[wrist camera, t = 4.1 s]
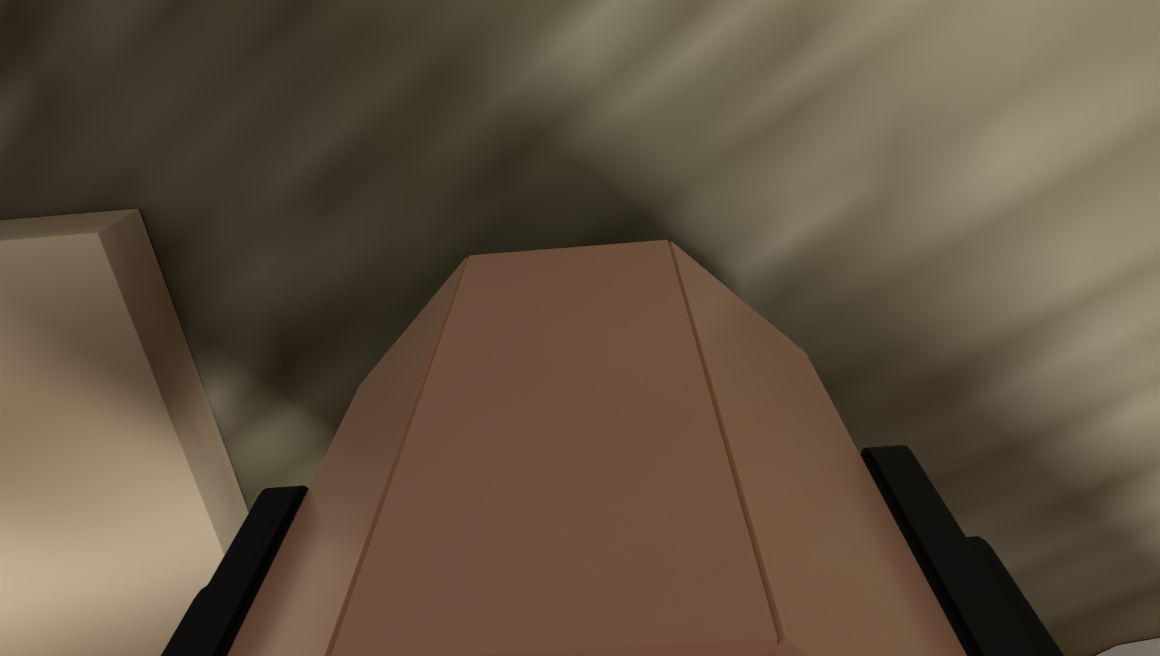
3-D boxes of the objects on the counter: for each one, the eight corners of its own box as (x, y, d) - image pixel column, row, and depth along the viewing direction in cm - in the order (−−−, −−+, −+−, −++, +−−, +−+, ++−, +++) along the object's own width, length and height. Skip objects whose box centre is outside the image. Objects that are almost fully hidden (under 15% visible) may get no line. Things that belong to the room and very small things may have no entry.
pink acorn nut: (327, 266, 12) (-78, 800, 4) (815, 227, 11) (1211, 734, 4) (416, 609, 15) (269, 1219, 8) (792, 587, 15) (988, 1199, 8)
